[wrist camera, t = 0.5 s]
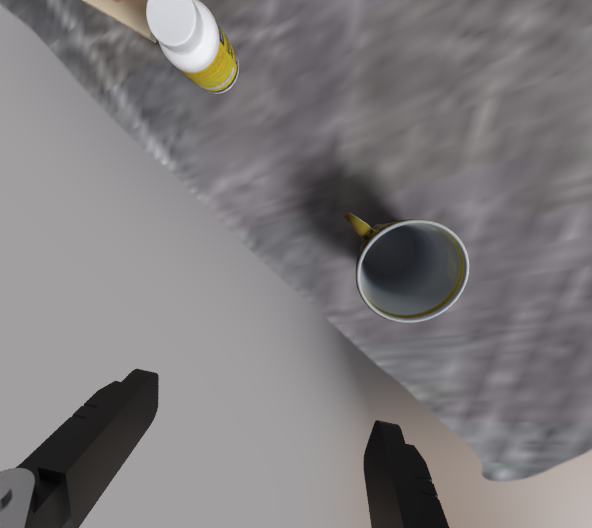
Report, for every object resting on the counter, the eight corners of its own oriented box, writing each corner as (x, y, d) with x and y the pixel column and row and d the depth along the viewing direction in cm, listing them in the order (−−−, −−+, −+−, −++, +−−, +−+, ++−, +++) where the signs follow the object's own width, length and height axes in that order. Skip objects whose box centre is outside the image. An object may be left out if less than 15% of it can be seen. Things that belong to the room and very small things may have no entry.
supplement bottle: (250, 68, 30) (219, 18, 21) (216, 105, 31) (172, 74, 22) (216, 25, 29) (167, -49, 20) (183, 65, 31) (122, 14, 21)
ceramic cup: (445, 246, 34) (494, 271, 24) (385, 300, 37) (408, 342, 27) (369, 173, 32) (390, 170, 23) (312, 235, 35) (310, 256, 25)
